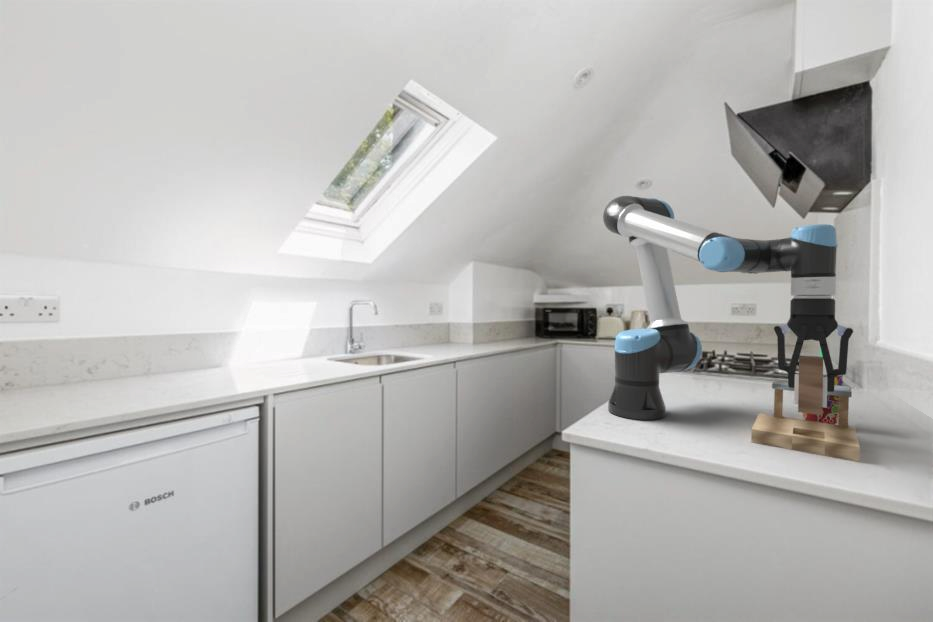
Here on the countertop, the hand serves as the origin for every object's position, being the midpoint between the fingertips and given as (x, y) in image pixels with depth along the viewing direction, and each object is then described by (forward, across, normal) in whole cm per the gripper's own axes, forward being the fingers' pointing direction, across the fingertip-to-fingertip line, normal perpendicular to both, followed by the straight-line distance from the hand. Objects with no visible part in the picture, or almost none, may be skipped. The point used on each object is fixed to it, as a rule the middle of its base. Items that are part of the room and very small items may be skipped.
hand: (810, 404), depth 92 cm
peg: (+2, 0, 0) cm, 2 cm away
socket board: (+9, -1, +4) cm, 10 cm away
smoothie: (+10, +2, +22) cm, 24 cm away
